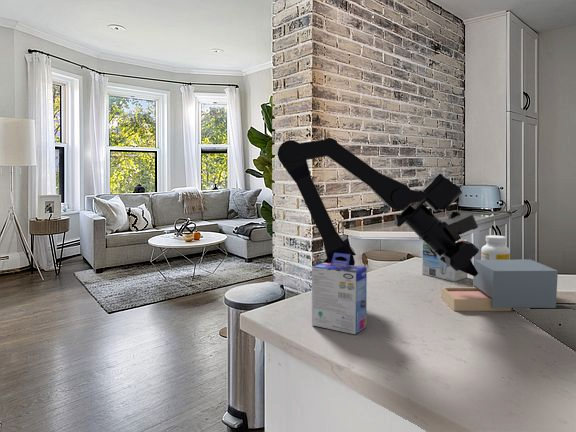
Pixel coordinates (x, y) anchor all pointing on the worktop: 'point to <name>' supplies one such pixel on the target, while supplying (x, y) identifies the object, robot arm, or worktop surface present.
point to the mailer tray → (468, 299)
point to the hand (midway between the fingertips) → (476, 274)
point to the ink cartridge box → (339, 295)
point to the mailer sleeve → (517, 283)
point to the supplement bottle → (495, 248)
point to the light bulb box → (439, 266)
